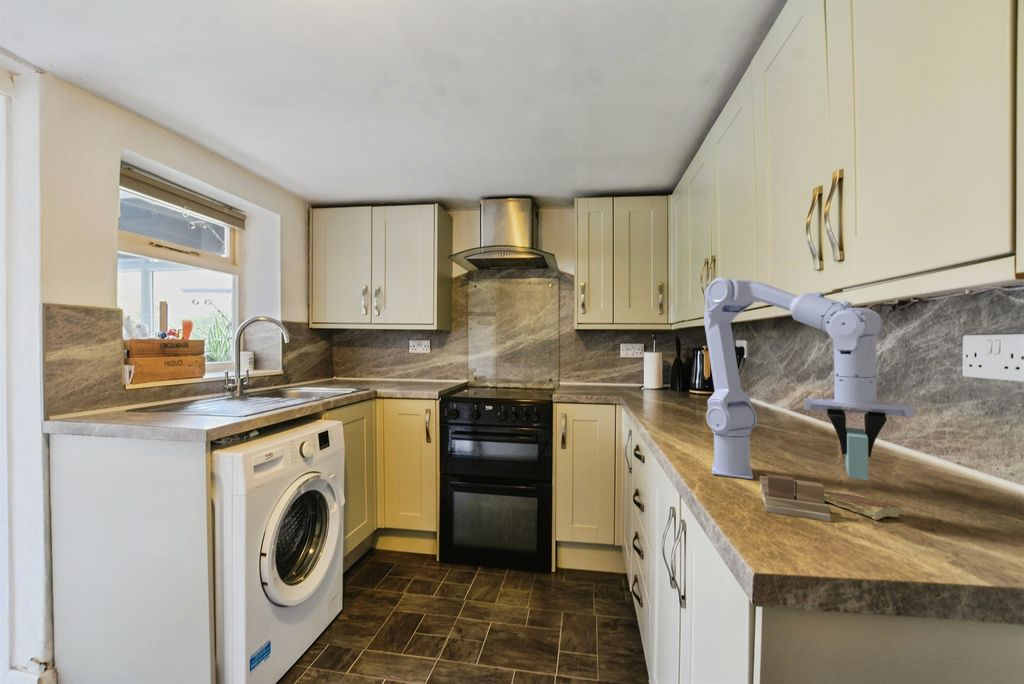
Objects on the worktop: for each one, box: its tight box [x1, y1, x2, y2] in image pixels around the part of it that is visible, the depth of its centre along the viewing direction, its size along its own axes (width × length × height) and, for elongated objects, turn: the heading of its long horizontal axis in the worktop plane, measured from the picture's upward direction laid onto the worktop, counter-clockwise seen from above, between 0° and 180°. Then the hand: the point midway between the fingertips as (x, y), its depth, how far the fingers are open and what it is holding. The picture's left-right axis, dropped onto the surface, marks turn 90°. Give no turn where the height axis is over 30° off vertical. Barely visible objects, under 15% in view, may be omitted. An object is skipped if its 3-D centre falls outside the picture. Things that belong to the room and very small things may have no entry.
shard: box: [824, 491, 903, 521], centre depth 74 cm, size 11×8×2 cm
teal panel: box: [845, 427, 869, 481], centre depth 71 cm, size 2×7×7 cm, turn 144°
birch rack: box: [759, 475, 831, 523], centre depth 76 cm, size 15×9×2 cm, turn 153°
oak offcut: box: [794, 479, 825, 504], centre depth 71 cm, size 2×4×4 cm, turn 63°
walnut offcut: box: [766, 473, 795, 500], centre depth 73 cm, size 2×4×4 cm, turn 63°
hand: (855, 454), depth 72 cm, fingers closed on teal panel, 2 cm apart
